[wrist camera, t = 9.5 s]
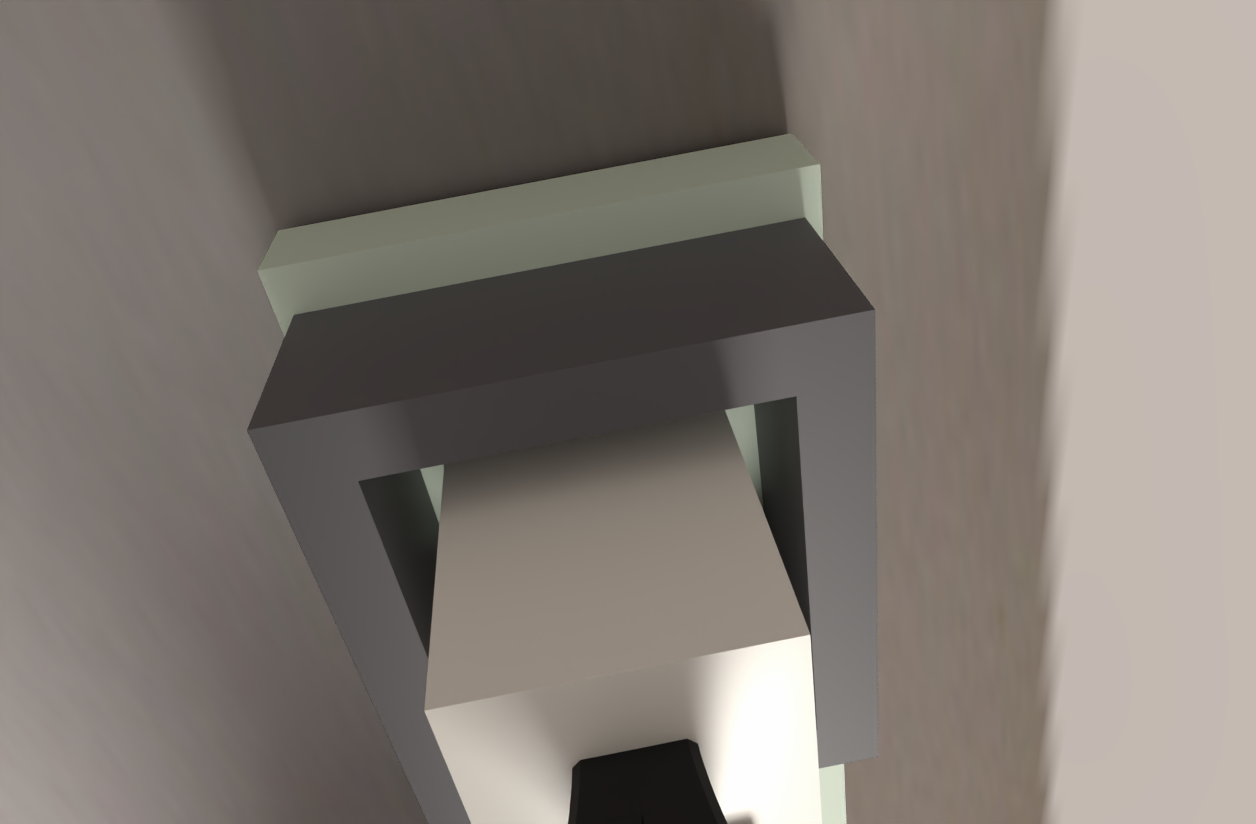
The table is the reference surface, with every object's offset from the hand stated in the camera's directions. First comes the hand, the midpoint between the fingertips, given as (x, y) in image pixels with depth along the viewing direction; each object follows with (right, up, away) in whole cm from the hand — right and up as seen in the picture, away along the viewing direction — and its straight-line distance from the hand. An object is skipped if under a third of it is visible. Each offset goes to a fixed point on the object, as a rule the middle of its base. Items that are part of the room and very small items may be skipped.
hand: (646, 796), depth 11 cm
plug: (-1, +3, +5) cm, 6 cm away
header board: (0, 0, +9) cm, 9 cm away
